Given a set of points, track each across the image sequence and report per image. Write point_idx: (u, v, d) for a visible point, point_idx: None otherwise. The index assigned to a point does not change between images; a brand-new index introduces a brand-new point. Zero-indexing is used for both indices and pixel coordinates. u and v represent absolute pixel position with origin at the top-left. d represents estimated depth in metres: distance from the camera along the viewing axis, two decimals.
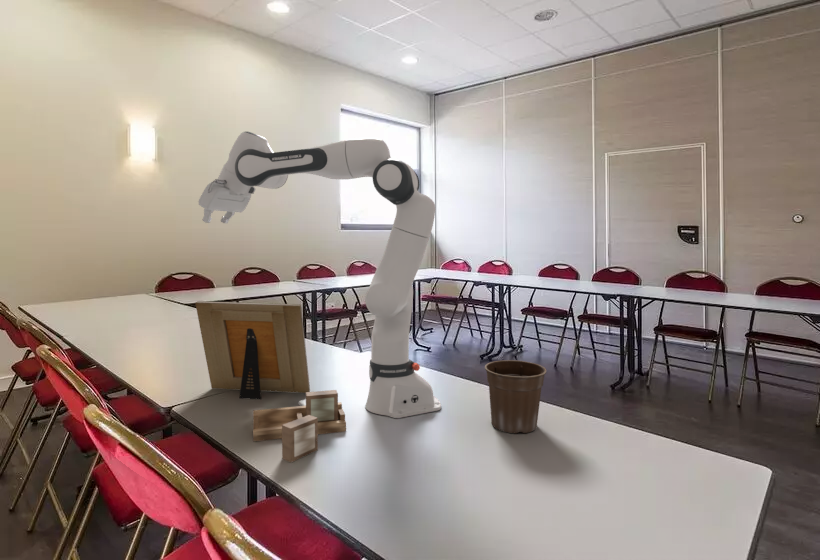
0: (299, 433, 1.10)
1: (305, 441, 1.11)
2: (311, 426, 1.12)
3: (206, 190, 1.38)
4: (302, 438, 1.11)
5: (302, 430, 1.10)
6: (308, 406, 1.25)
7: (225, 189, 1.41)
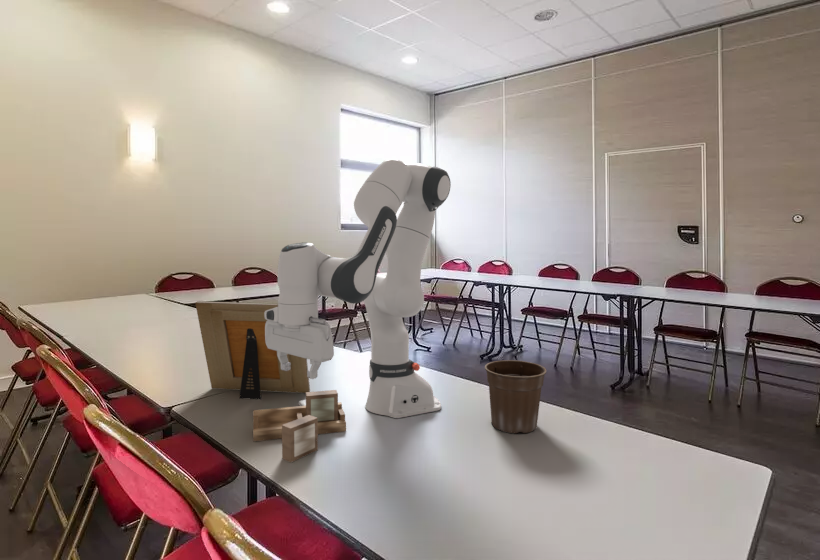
0: (299, 433, 1.10)
1: (305, 441, 1.11)
2: (311, 425, 1.12)
3: (324, 339, 1.03)
4: (302, 438, 1.11)
5: (302, 430, 1.10)
6: (308, 406, 1.25)
7: None
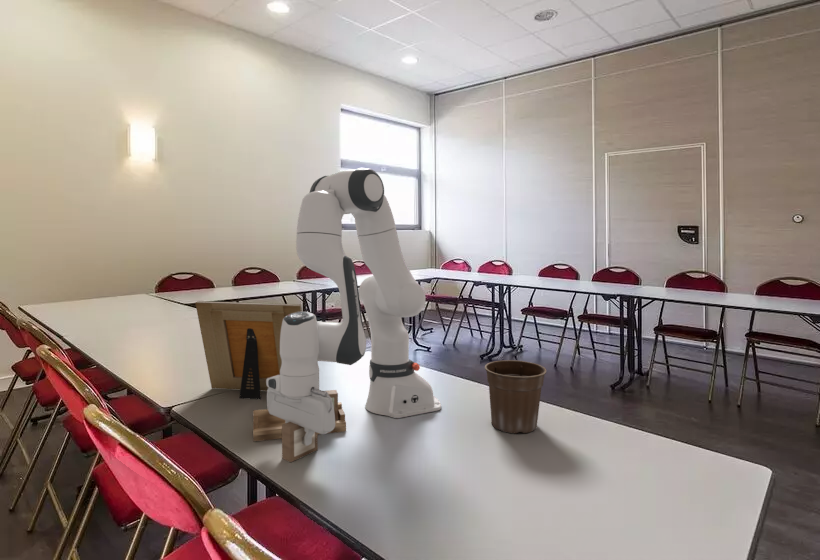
0: (299, 433, 1.10)
1: None
2: None
3: (325, 412, 1.05)
4: None
5: (301, 430, 1.10)
6: None
7: None
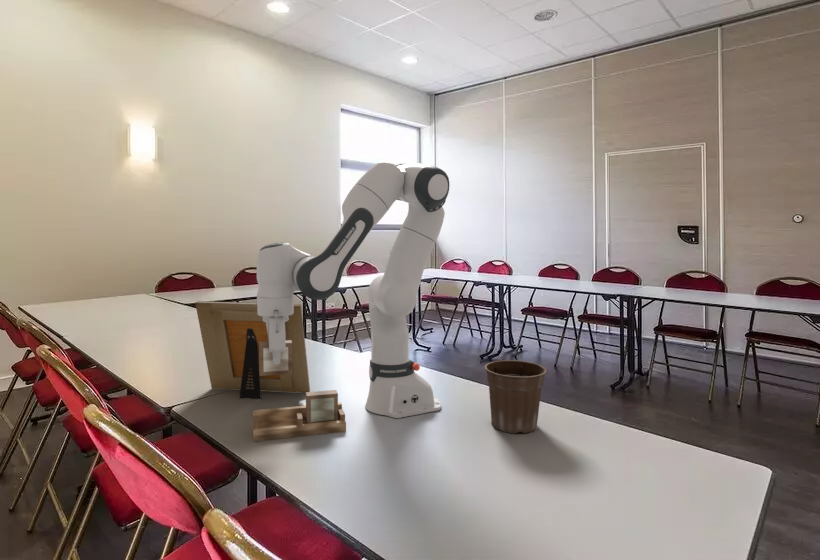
0: (269, 351, 1.20)
1: None
2: None
3: (273, 331, 1.12)
4: (272, 357, 1.21)
5: None
6: (308, 406, 1.25)
7: (283, 319, 1.17)
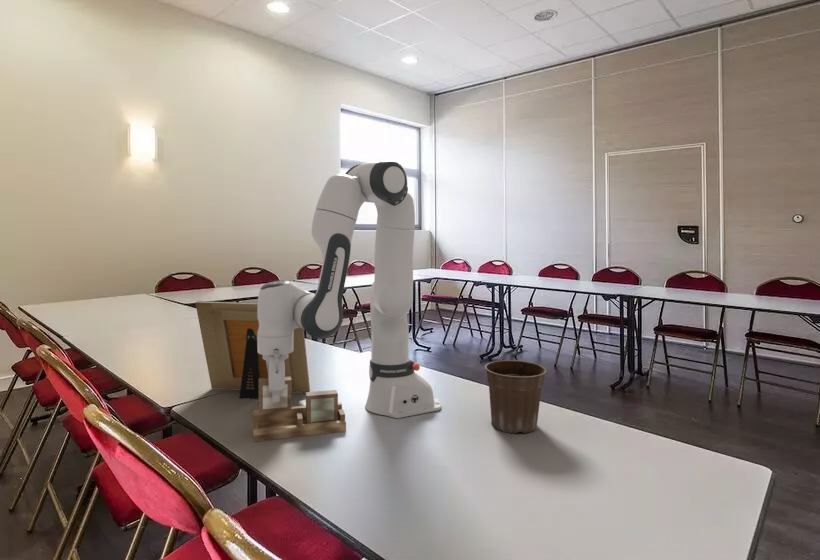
0: (268, 389, 1.21)
1: None
2: None
3: (273, 372, 1.13)
4: None
5: None
6: (308, 406, 1.25)
7: (283, 358, 1.18)
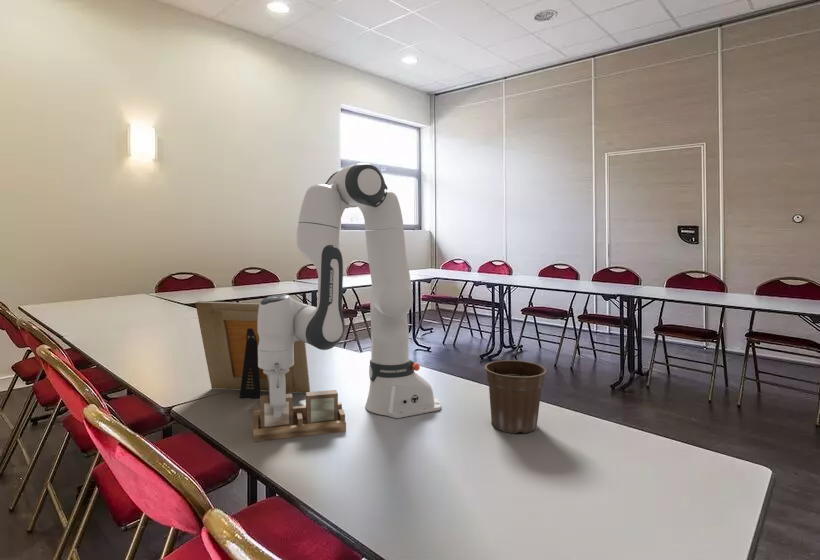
0: (270, 406, 1.22)
1: None
2: None
3: (273, 387, 1.13)
4: (273, 412, 1.22)
5: None
6: (308, 406, 1.25)
7: (284, 372, 1.18)
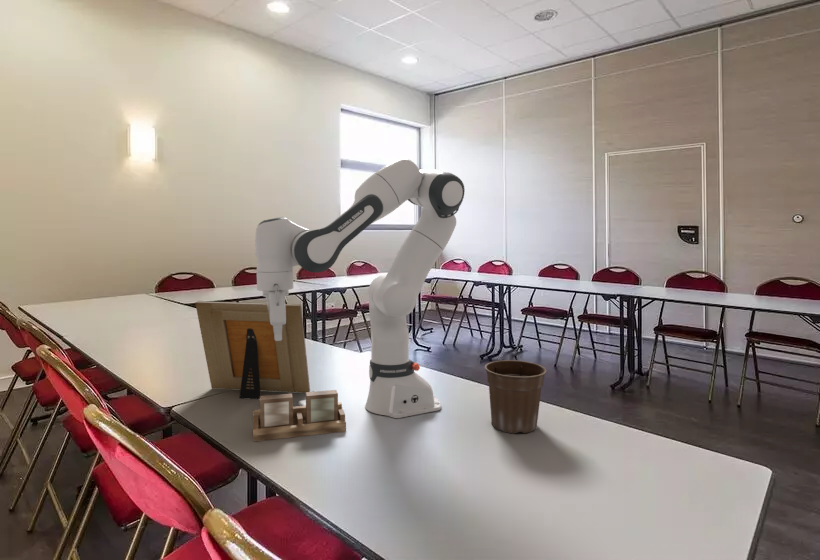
0: (270, 406, 1.22)
1: (277, 415, 1.22)
2: (284, 403, 1.23)
3: (273, 304, 1.12)
4: (273, 412, 1.22)
5: (273, 405, 1.22)
6: (308, 406, 1.25)
7: (283, 292, 1.17)
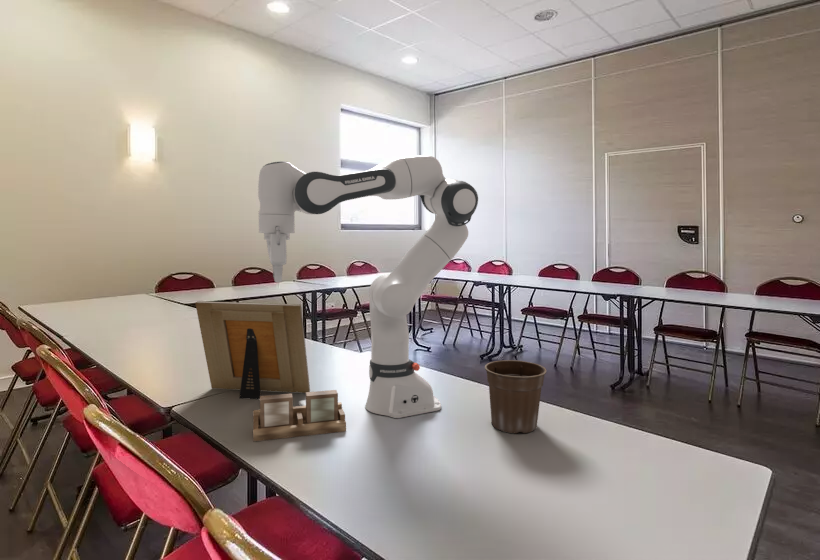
0: (270, 406, 1.22)
1: (277, 415, 1.22)
2: (284, 403, 1.23)
3: (274, 244, 1.14)
4: (273, 412, 1.22)
5: (273, 405, 1.22)
6: (308, 406, 1.25)
7: None
